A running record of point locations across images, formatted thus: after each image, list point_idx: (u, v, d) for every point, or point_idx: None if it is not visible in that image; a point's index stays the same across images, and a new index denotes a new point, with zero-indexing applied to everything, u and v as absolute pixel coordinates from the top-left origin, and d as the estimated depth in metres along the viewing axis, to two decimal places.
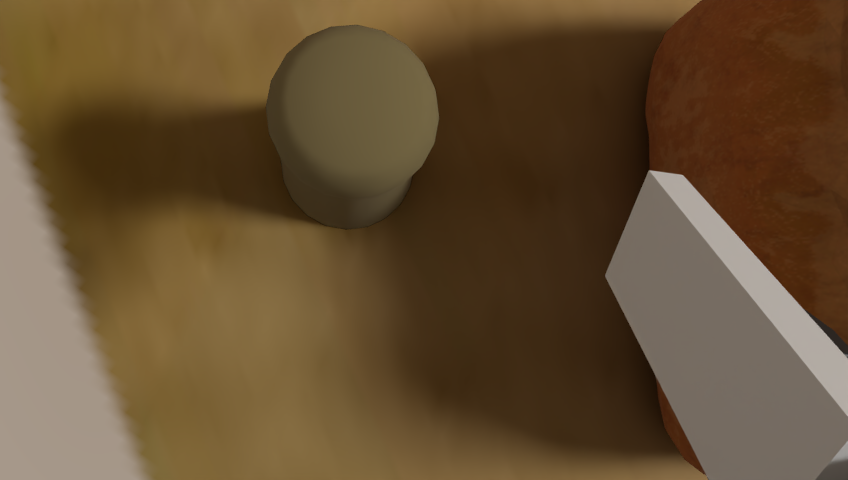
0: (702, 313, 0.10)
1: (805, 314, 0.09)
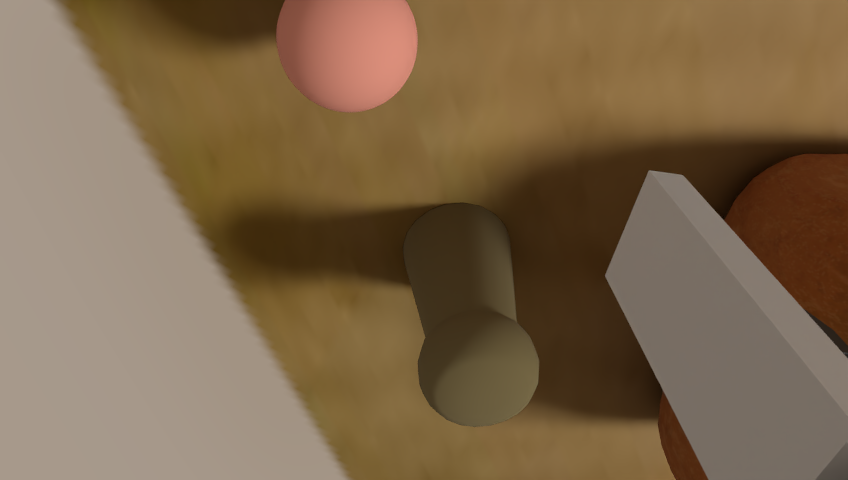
0: (702, 313, 0.10)
1: (805, 314, 0.09)
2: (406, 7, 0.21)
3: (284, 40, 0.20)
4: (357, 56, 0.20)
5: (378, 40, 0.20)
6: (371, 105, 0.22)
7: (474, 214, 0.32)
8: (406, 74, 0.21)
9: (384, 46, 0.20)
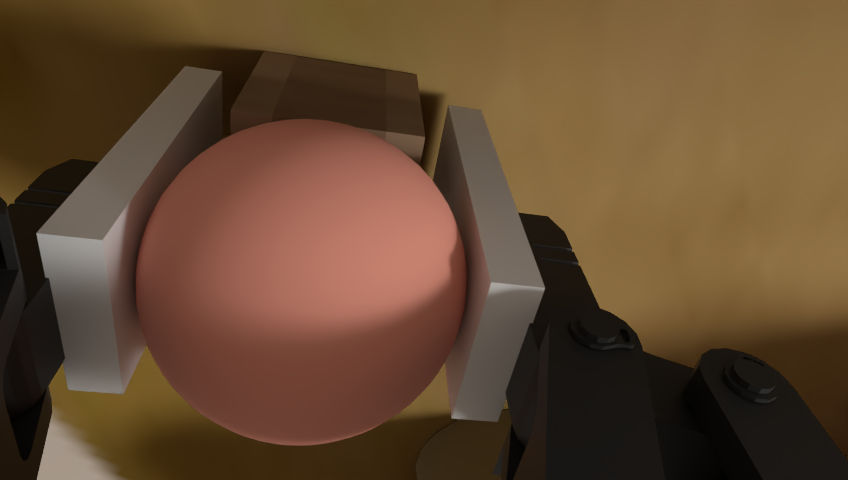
0: None
1: (513, 208, 0.10)
2: (445, 227, 0.09)
3: (144, 323, 0.08)
4: (322, 389, 0.07)
5: (379, 344, 0.08)
6: None
7: None
8: (442, 364, 0.09)
9: (392, 351, 0.08)
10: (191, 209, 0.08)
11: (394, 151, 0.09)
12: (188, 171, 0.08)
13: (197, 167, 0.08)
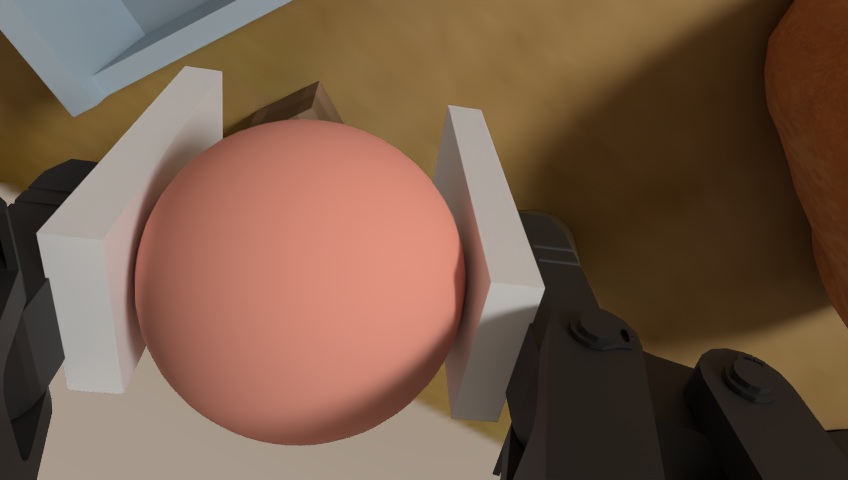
0: (454, 219, 0.11)
1: (513, 208, 0.10)
2: (444, 226, 0.09)
3: (143, 323, 0.08)
4: (321, 389, 0.08)
5: (378, 344, 0.08)
6: None
7: None
8: (441, 364, 0.09)
9: (391, 351, 0.08)
10: (189, 210, 0.08)
11: (392, 151, 0.09)
12: (186, 172, 0.08)
13: (195, 168, 0.08)
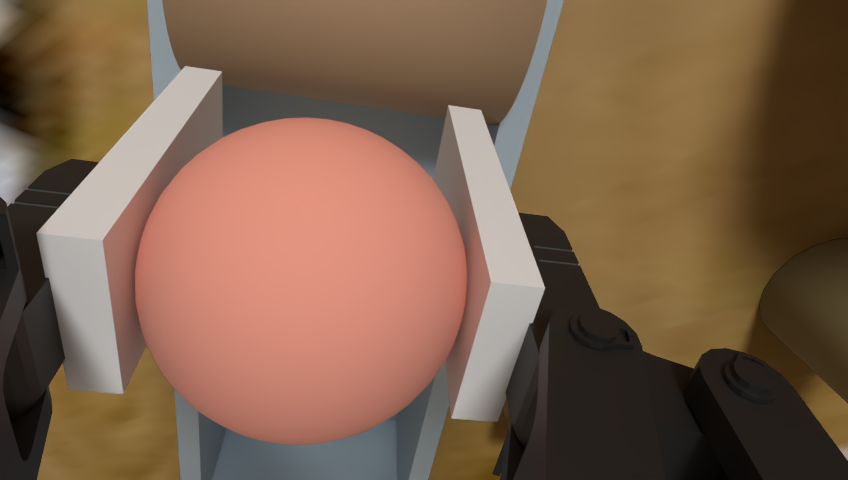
0: None
1: (513, 208, 0.10)
2: (446, 225, 0.09)
3: (144, 322, 0.08)
4: (322, 388, 0.07)
5: (379, 343, 0.08)
6: None
7: (782, 291, 0.27)
8: (442, 363, 0.09)
9: (393, 350, 0.08)
10: (191, 208, 0.08)
11: (394, 150, 0.09)
12: (188, 170, 0.08)
13: (197, 166, 0.08)
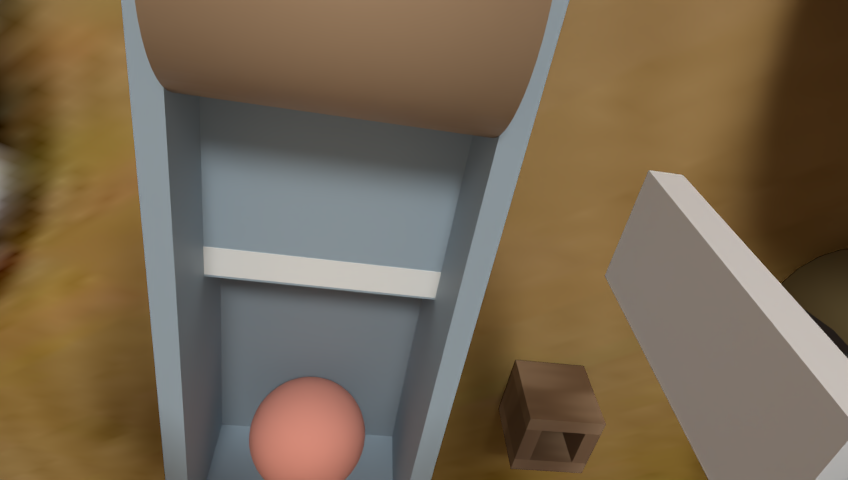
0: (702, 313, 0.10)
1: (805, 314, 0.09)
2: (352, 436, 0.25)
3: (254, 464, 0.25)
4: None
5: None
6: None
7: None
8: (354, 466, 0.27)
9: None
10: (269, 443, 0.24)
11: (335, 410, 0.25)
12: (266, 421, 0.25)
13: (269, 422, 0.25)
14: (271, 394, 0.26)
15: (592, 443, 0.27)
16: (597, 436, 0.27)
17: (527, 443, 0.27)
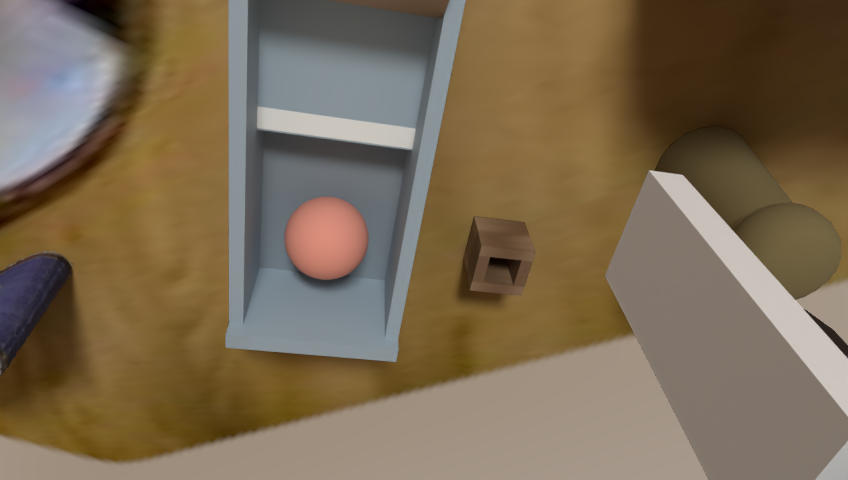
0: (702, 313, 0.10)
1: (805, 314, 0.09)
2: (361, 217, 0.36)
3: (290, 237, 0.35)
4: (333, 244, 0.34)
5: (345, 235, 0.34)
6: (341, 273, 0.35)
7: (666, 166, 0.37)
8: (362, 254, 0.36)
9: (348, 238, 0.34)
10: (303, 210, 0.35)
11: None
12: (300, 206, 0.36)
13: (302, 204, 0.35)
14: None
15: (527, 269, 0.38)
16: (530, 262, 0.37)
17: (480, 268, 0.37)
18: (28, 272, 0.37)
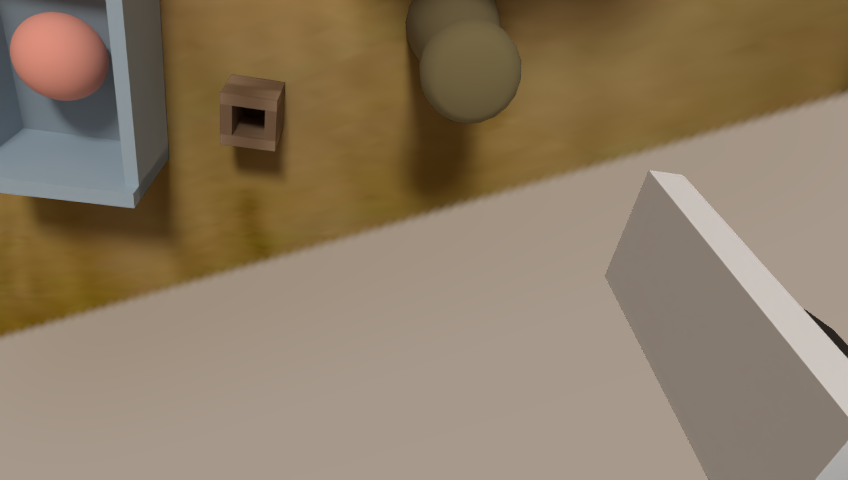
0: (702, 313, 0.10)
1: (805, 314, 0.09)
2: (99, 36, 0.36)
3: (14, 32, 0.34)
4: (54, 25, 0.34)
5: (71, 23, 0.34)
6: (64, 66, 0.34)
7: (409, 17, 0.37)
8: (92, 57, 0.35)
9: (75, 27, 0.34)
10: None
11: None
12: None
13: None
14: None
15: (273, 120, 0.38)
16: (274, 113, 0.37)
17: (225, 118, 0.37)
18: None
